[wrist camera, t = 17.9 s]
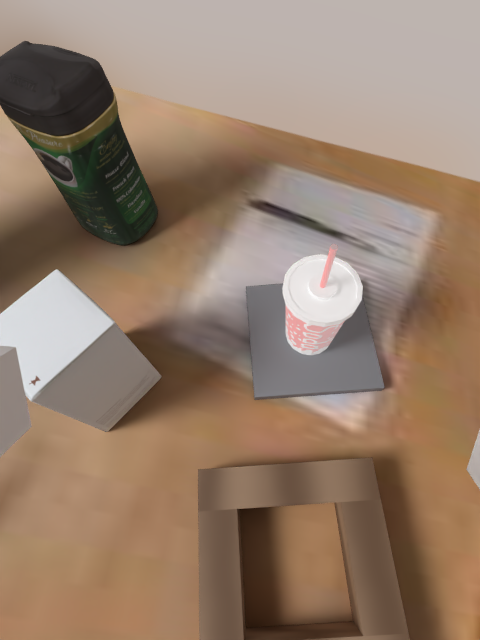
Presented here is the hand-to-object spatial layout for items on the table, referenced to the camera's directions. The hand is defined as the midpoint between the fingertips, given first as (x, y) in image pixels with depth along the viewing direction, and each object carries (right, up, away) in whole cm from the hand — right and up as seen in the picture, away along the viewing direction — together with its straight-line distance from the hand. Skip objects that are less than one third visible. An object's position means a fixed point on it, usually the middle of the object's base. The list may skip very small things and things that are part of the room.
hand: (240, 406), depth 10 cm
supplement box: (-13, -4, +26) cm, 29 cm away
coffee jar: (-15, +15, +35) cm, 41 cm away
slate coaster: (+7, +1, +27) cm, 27 cm away
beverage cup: (+7, +1, +26) cm, 27 cm away
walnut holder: (+4, -17, +18) cm, 25 cm away
